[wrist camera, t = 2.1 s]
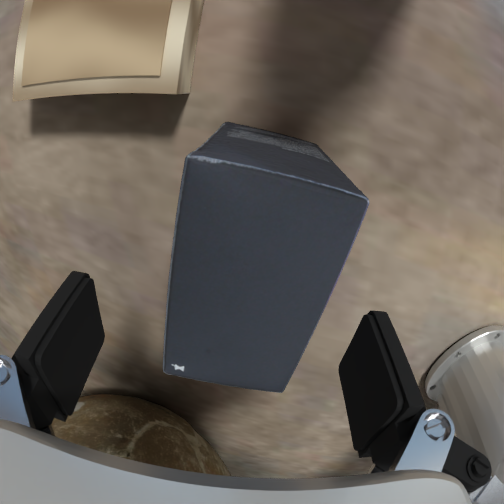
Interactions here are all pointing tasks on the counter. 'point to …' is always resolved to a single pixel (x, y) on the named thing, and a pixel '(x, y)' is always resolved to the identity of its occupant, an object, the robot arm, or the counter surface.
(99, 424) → the bowl
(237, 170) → the small box
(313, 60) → the counter surface
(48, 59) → the base
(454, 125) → the counter surface
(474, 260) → the counter surface
